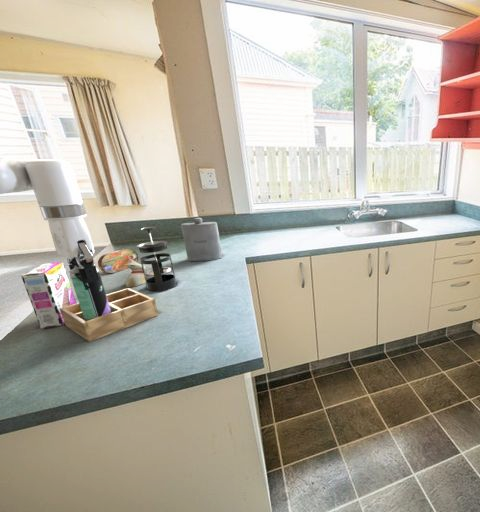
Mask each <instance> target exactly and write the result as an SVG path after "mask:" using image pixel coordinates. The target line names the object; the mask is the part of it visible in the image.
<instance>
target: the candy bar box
mask: <svg viewBox="0 0 480 512" xmlns="http://www.w3.org/2000/svg"><path fill="white" fill-rule="evenodd" d="M20 277H21V281H22V283H23V285H24V288H25V290H26V293H27V296H28V299H29V301H30V304H31V306H32V309H33V312H34V315H35V318H36V320H37V322H38V325H39V328H40V329H41V330H43V329H49V328H56V327H61V326H64V324H65V322H64V319H63V317H62V314H61V311H60V308H64V307H66V306H70V305H73V304H76V303H77V301H76V298H75V295H74V292H73V289H72V287H71V283H70V280H69V277H68V273H67V270H66V267H65V264H64V262H63V261H60V262H59V261H58V262H49V263H42V264H40V265H38V266H36V267H34V268H33V269H31V270H28V271H27V272H25V273H23V274H21V275H20Z"/></svg>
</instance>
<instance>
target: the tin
mask: <svg viewBox="0 0 480 512" xmlns="http://www.w3.org/2000/svg"><path fill="white" fill-rule="evenodd" d="M129 260H133V261H135V262H137V263H139V255H138V253H137V251H136V250H134V249H132V248H122V249H119V250H114V251H112V252H108V253H105V254H102V255H101V256H100V257H99V258H98V259H97V267H98V268H99V271H101V272H103V273H106V274H107V273H108V274H115V273H119V272H121V271H125V270H127V269H129V268H128V267H127V264H128V263H129Z"/></svg>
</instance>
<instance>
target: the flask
mask: <svg viewBox="0 0 480 512" xmlns="http://www.w3.org/2000/svg"><path fill="white" fill-rule="evenodd" d="M192 219H193V222H186V223H181V224H180V229H181V234H182V238H183V243H184V247H185V253H186V257H187V260H188V261H189V262H202V261H214V260H219V259H222V258H223V252H222V246H221V239H220V233H219V228H218V227H219V226H218V223H217V222H216V221H205V222H203V221H204V220H203V218H201V217H194V218H192Z"/></svg>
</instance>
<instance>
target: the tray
mask: <svg viewBox="0 0 480 512" xmlns="http://www.w3.org/2000/svg"><path fill="white" fill-rule="evenodd" d="M106 296H107V300H108V303H109V306H110V310H111V313H109V314H106V315H103V316H100V317H97V318H94V319H91V320H88V321H85V319H84V316H83V313H82V310H81V307H80V304H79V302H76V304H73V305H70V306H66V307H64V308H60V311H61V314H62V317H63V319H64V322H65V323H64V324H65V326H66V327H67V328H68V329H70V330H72V331H73V332H75V334H77V335H79V336H80V337H82V338H83V339H84V340H86V341H87V342H89V343H90V342H94V341H96V340H99V339H101V338H103V337H107V336H109V335H112V334H114V333H116V332H119V331H122V330H124V329H126V328H129V327H132V326H135V325H137V324H139V323H143V322H145V321H147V320H150V319H152V318H156V317H158V316H159V310H158V307H157V304H156V300H155V299H156V298H153V297H152V296H148V295H146V294H144V293H142V292H140V291H137V290H135V289H132V288H131V287H130V288H127V287H126V288H123V289H120V290H117V291H113V292H110V293H107V294H106Z"/></svg>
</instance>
